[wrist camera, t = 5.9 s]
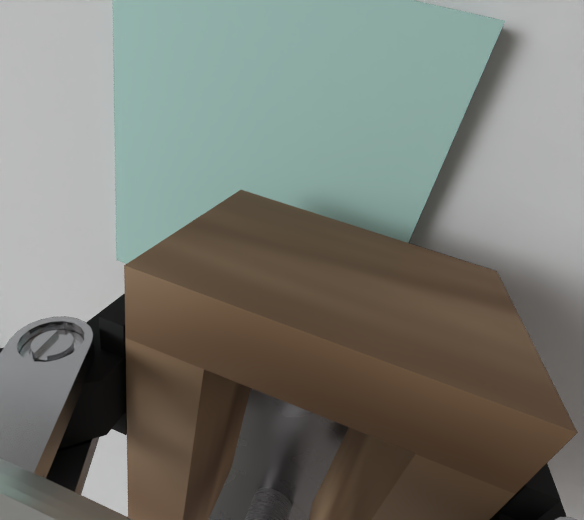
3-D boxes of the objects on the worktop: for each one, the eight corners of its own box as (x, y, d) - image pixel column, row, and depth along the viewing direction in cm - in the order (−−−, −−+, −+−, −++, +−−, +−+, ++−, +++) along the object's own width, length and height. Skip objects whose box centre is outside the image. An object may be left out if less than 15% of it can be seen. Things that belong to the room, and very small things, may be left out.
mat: (127, -59, 10) (111, -67, 9) (498, 24, 8) (505, 21, 8) (127, 253, 14) (116, 260, 14) (361, 342, 13) (360, 353, 12)
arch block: (240, 189, 9) (123, 265, 5) (496, 271, 8) (577, 432, 4) (199, 453, 15) (129, 581, 11) (347, 518, 14) (326, 680, 10)
